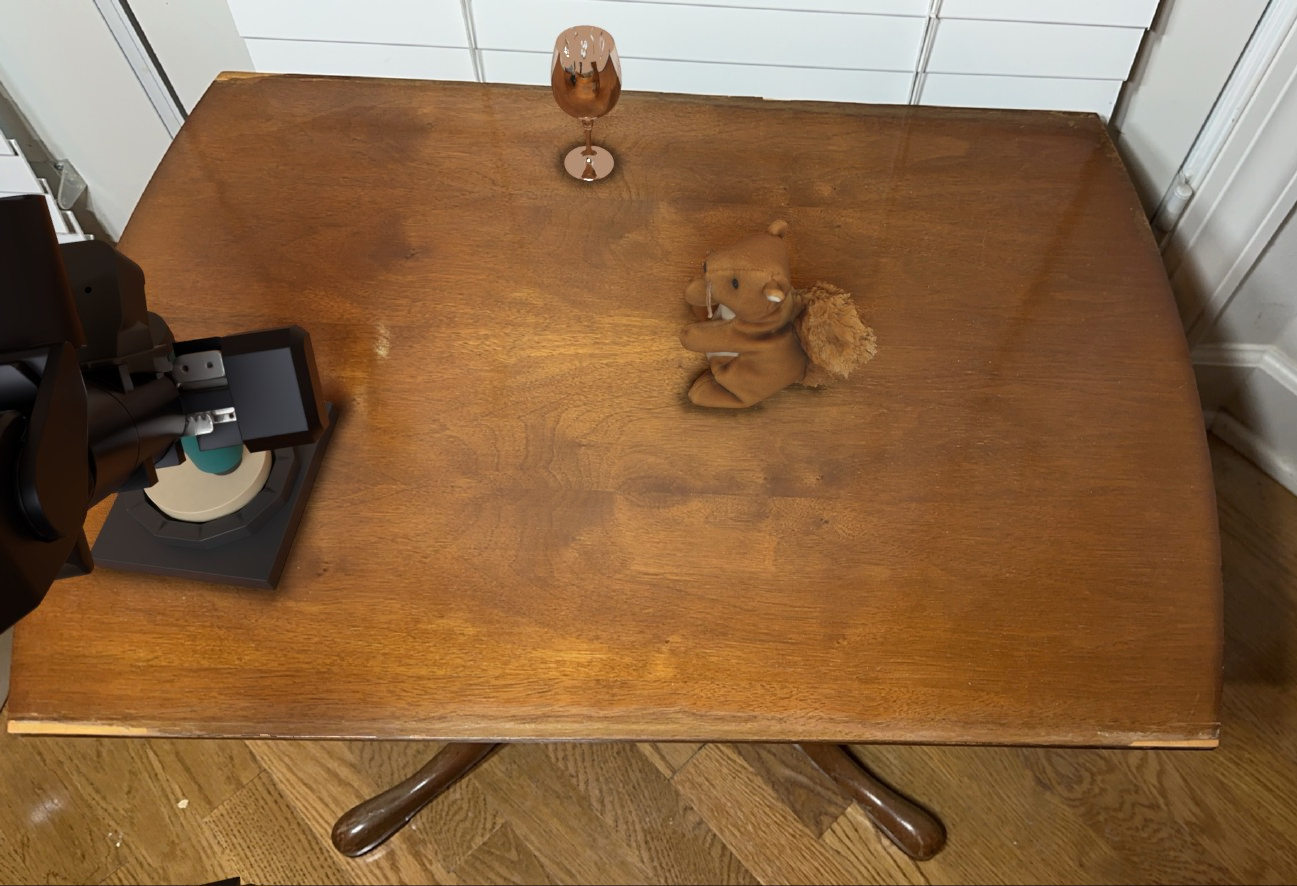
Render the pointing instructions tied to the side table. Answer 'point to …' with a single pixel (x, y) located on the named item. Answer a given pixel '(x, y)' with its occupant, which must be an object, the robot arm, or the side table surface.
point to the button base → (216, 528)
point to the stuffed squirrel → (768, 325)
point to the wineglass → (586, 91)
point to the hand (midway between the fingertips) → (183, 383)
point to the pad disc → (209, 488)
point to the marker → (205, 461)
